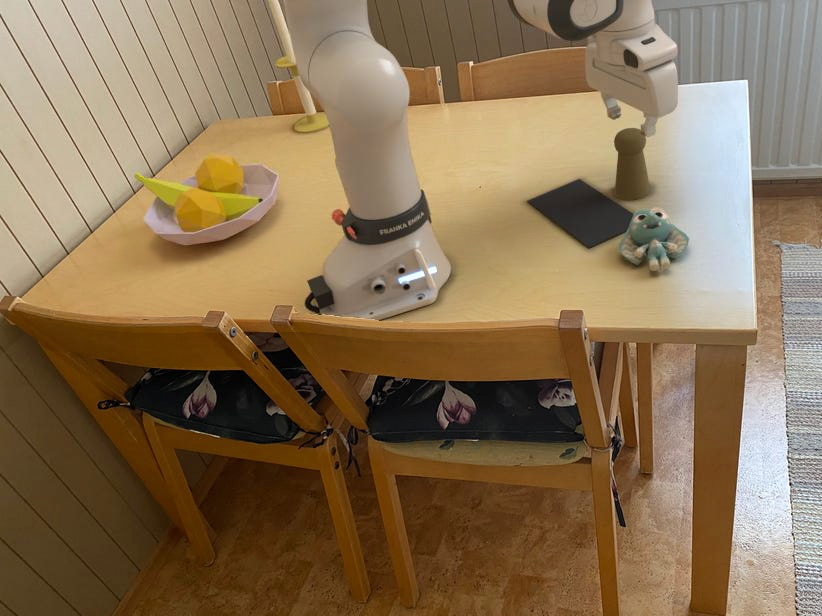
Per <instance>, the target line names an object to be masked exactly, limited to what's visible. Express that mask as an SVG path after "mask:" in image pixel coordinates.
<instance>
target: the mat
mask: <svg viewBox="0 0 822 616" xmlns="http://www.w3.org/2000/svg"><path fill="white" fill-rule="evenodd" d="M527 203H528V204H529V205H531V206H532V207H533V208H534V209H536V210H537V211H538V212H540V213H541V214H542V215H543V216H544V217H546V218H547V219H549V220H550V221H551V222H553V223H554V224H555V225H557V227H560V228H561V229H562V230H563V231H565V232H566V233H567V234H569V235H570V236H572V237H573V238H574V239H575V240H577V241H578V242H579V243H581V245H583V246H584V247H586V248H587V249H589V250H590V249H592V248H594V247H596V246H598V245H601V244H603V243H605V242H608V241H609V240H612V239H614V238H616V237H619V236H621V235H623V234H625V233H626V231H627V230H628V228H629V225H630V222H631V220H632V217H633V215H634V213H633V212H631V211H630V210H629V209H627V208H625V207H624V206H622V205H621V204H619V203H618V202H616V201H615V200H613V199H612V198H610V197H609V196H607V195H605V194H604V193H603V192H600V190H597V189H596V188H594V187H593V186H592V185H590V184H588V183H587V182H585V181H583V179H580V178H578V179H575V180H573V181H571V182H569V183H566V184H564V185H561V186H559V187H557V188H553V189H552V190H549V191H547V192H545V193H542V194H539V195H537V196H535V197H533V198H530V199H528V200H527Z"/></svg>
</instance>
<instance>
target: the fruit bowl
mask: <svg viewBox="0 0 822 616" xmlns="http://www.w3.org/2000/svg"><path fill="white" fill-rule="evenodd" d="M194 174H195V175H192V176H189V177H187V178H185V179H183V180H182V181H180V182H174V181H169V180H163V179H157V178H151V177H145V176H143V175H142V174H140V173H139V172H136V173H135V174H134V176H133V177H134V178H135V179H137V180H138V181H140V182H141V183H142V184H143V186H144V187H145V188H146V189H147V190H148V191H150V192H151V193H152V194H154V195H155V198H154V199H153V201H152V203H151V205H150V207H149V208H148V209H147V211H146V213H145V214H144V216H143V218H142V221H143V222H144V223H145V224H146V225H147V226H148V227H149V228H150V229H151V230H152V231H153V232H154V233H155V234H156V235H158V236H159V237H161V238H162V239H163V240H164V241H169V242H172V243H175V244H179V245H181V246H190V245H199V244H206V243H211V242H218V241H224V240H225V239H228V238H230V237H233V236H235V235H237V234H239V233H242V232H243V231H245V230H248V229H249V228H250V227H252V226H254V225H255V224H257V223H258V222H259V221H261V219H262V218H263V217H264V216H265V215H266V214H267V213H268V212H269V211H270V210H271V209H272V207H273V206H274V205H275V204H276V202H277V194H278V187H279V180H280V174H279V173H276V172H275V171H273V170H272V169H270V168H268V167H267V166H265V164H263V163H255V164H253V163H252V164H238V162H237V161H236V160H235V159H234V158H233V156H230V155H225V154H219V153H209V155H207V156H206V157H205V158H204V159H203V161H202V162H201V164H200V165H199V166H198V168H197V170H196V171H195V172H194Z"/></svg>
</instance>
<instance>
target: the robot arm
mask: <svg viewBox="0 0 822 616" xmlns="http://www.w3.org/2000/svg"><path fill="white" fill-rule="evenodd" d="M507 3H508V6H509V9H510V11H511V12H512V14H513V16H514V17H515V18H516V19H517V20H518V21H520V22H521V23H523V24H524V25H527V26H530V27H533V28H536V29H540V30H541V31H543V32H545V33H547V34H549V35H551V36H554V37H555V38H558V39H560V40H563V41H567V42H579V41H583V40H585V39H587V45H586V46H585V50H584V74H585V76H584V77H585V81H586V84H587V86H588V87H589V88H591V89H593V90H595V91H598V92H599V93H600V96H601V97H600V98H601V100H602V101H603V104H604V106H605V108H606V114H607V118H609V119H611V120H612V121H616V120H617V119H619V118H621V117H622V113H621V111H622V110H621V109H622V108H621V106H620V105H618V102H621V103H623V104H625V105H628V106H629V107H631V108H633V109H636V110H638V111H640V112H642V113H643V118H645V121H644V123H641V124H640V130H641V134H643V135H644V136H645V137H646V138H651V137H652V136H655V134H656V133H657V130H656V125H657V123H658V120H659V119H660V118H662V117H665V116H667V115H670V114H671V113H674V111H675V110H676V109H677V107H678V104H679V103H678V102H679V81H678V80H679V79H678V77H679V76H678V70H677V66H676V64H675V62H674V60H673V59H676V58H677V56H678V45H677V43H676V42H675V41H674V40H673V39H671V37H669V36H668V35H667V34H666V33H665V32H664V31H663V30H662V28H661V27H660V25H658V24H657V23H656V18H655V17H656V16H655V9H654V7H653V3H652V0H507ZM283 5H284V11H285V17H286V24H287V28H288V31H289V34H290V38H291V43H292V48H293V52H294V56H295V60H296V65H297V70H298V73H299V76H300V78H301V81H302V83H303V84H304V86H305V87H306V89H307V90H308V91H309V92H310V95H312V97H314V99H316V101H317V102H318V103H319V106H320V108H321V109H322V110H323V113H325V115H326V117H327V120H328V123H329V126H328V127H329V130H330V134H331V139H332V144H333V149H334V155H335V157H334V163H335V168H336V170H337V173H338V177H339V180H340V182H341V185H342V188H343V191H344V194H345V197H346V200H347V204H348V209H347V211H346V213H344V211H343V210H342V209H340V208H336V209H334V210H333V211H332V214H331V219H332V221H333V222H334V223H335V224H336V225H337V226H341V229H342V231H343V235H342V237H341V239H340V240H339V241H338V243H337V244H336V245H335V246H334V248H332V250H331V251H330V253H329V254H328V255H327V256H326V258H325V259H324V260H323V264H322V274H321V275H317V276H315V277H312V278H310V279H308V280H307V279H306V282H307V284H308V287H309V290H310V293H309V294H308V295H307V297H305V299H304V307H305V308H306V310H308V311H310V312H312V313H315V314H320V315H321V314H325V315H334V316H340V317H354V318H365V319H375V320H378V321H381V320H384V319H388V318H391V317H393V316H397V315H400V314H403V313H406V312H409V311H413V310H416V309H419V308H422V307H425V306H429V305H431V304H433V303H435V302H436V300H437V298H438V295H439V292H440V290H441V288H442V287H443V286H444V284H445V283H446V282H447V281H448V279H449V278H450V276H451V272H452V265H451V263H450V260H449V259H448V258H447V257H446V255H445V253H444V251H443V250H442V247H441V246H440V244H439V241H438V239H437V235H436V233H435V231H434V229H433V226H432V222H433V221H432V216H431V214H432V213H431V209H430V206H429V202H428V199H427V196H426V194H425V191H424V189H421V186H420V181H419V179H418V178H419V177H418V174H417V173H418V172H417V170H416V166H415V161H414V157H413V154H412V148H411V144H410V136H409V120H408V107H409V103H410V96H411V95H410V93H411V92H410V91H411V90H410V85H409V81H408V79H407V77H406V74H405V72H404V71H403V69H402V66H401V64H400V63H399V62H398V60H397V58H396V57H395V56H394V55H393V53H392V52H391V51H389V50H388V49H387V48H385V46H383V45H381V44H380V43H378V42H377V41H376V40H375V38H374V36H373V33H372V30H371V27H370V22H369V15H368V14H369V12H368V0H283ZM617 101H618V102H617ZM314 300H315V304H316V305H313V304H312V301H314Z"/></svg>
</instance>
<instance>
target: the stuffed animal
mask: <svg viewBox="0 0 822 616" xmlns="http://www.w3.org/2000/svg"><path fill="white" fill-rule="evenodd" d="M633 214H634V215H633V217H632V220H631V222H630V225H629V228H628V230H627V231H626V232H625V233H624V235H623V237H622V239H621V240H620V242H619V243H618V245H617V246H618V247H617V251H619V253H620V254H621V256H623V257H624V259H625V260H626V261H628V262H629V263H632V264H634V265H637V266H638V265H640V264H641V263H642V262H643V261H645V259H646V258H647V259H648V266H649V269H650V271H651V272H655V271H658V270H659V269H660V268H661V269H662V270H668V269H669V268H670V267H671V262H670V261H671V260H670V258H672V259H674V260H677V259H679V258H680V257H681V255H682V254H683V253H684V251H685V250H686V249H687V247H689V246H688V245H689V241H690V238H689V237H688V235H687V234H686V233H685V232H683V231H682V230H680V229H679V227H676V226H675V225H674V224H673V223H672V222H671V220H670V216H669V215H668V214H667V213H666V211H664V209H662V208H660V207H657V206H656V207H652V208H647V209H639V210H637V211H635V212H634V213H633Z"/></svg>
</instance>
